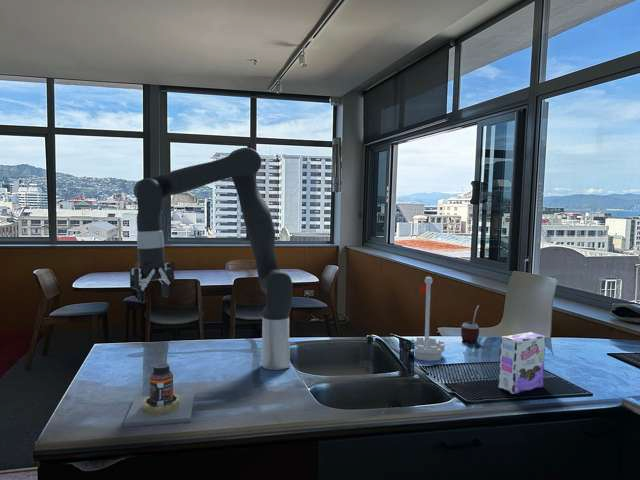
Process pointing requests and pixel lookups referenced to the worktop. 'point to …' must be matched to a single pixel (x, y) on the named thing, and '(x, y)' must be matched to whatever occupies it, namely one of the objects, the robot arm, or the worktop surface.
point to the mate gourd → (470, 331)
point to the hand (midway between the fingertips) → (154, 299)
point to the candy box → (521, 362)
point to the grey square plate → (179, 415)
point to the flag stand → (429, 346)
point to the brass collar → (161, 409)
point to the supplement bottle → (161, 385)
